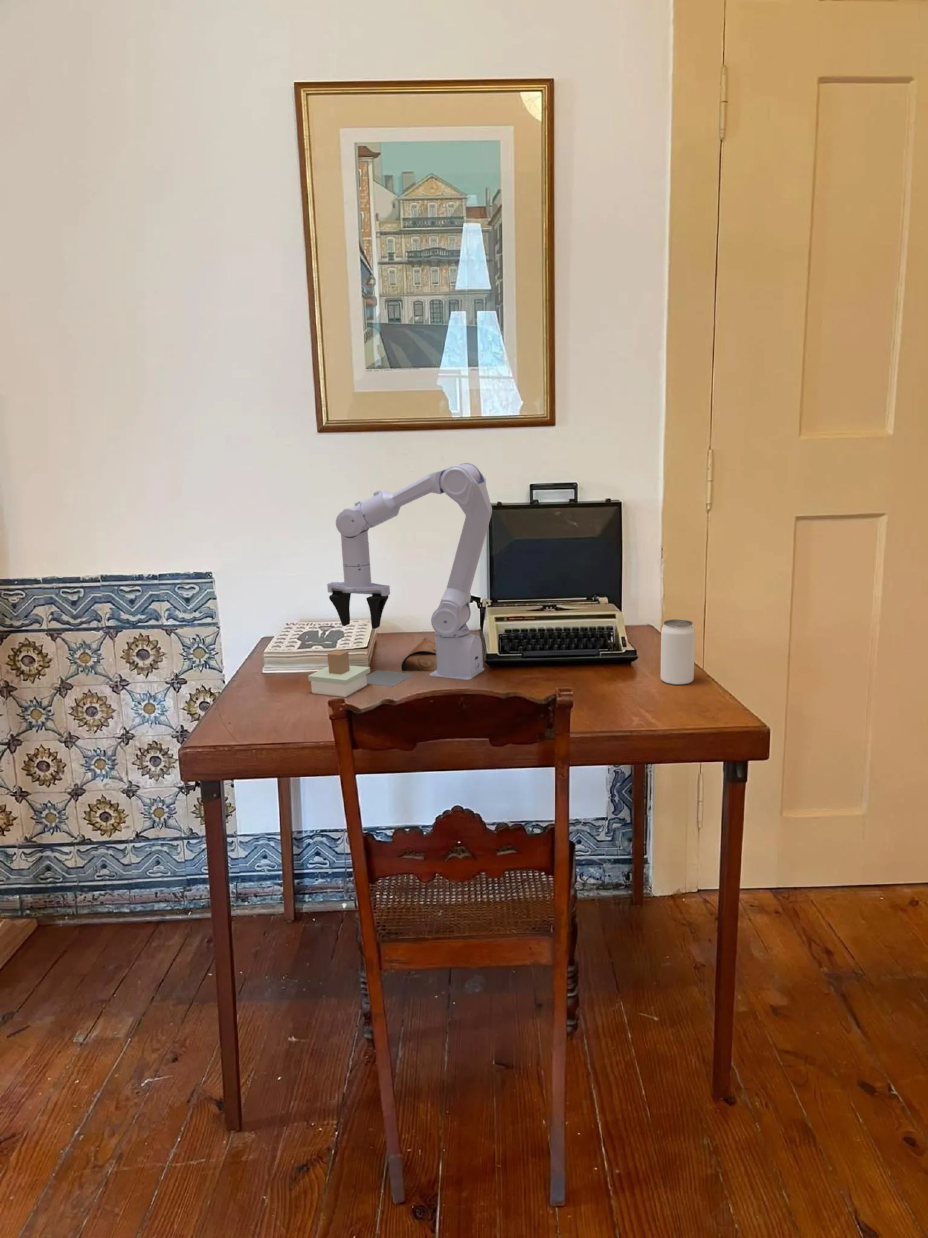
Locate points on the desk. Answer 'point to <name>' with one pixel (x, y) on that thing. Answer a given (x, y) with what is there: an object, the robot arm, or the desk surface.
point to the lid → (339, 670)
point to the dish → (338, 687)
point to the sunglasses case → (421, 657)
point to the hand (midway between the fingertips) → (360, 626)
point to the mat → (386, 678)
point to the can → (677, 652)
